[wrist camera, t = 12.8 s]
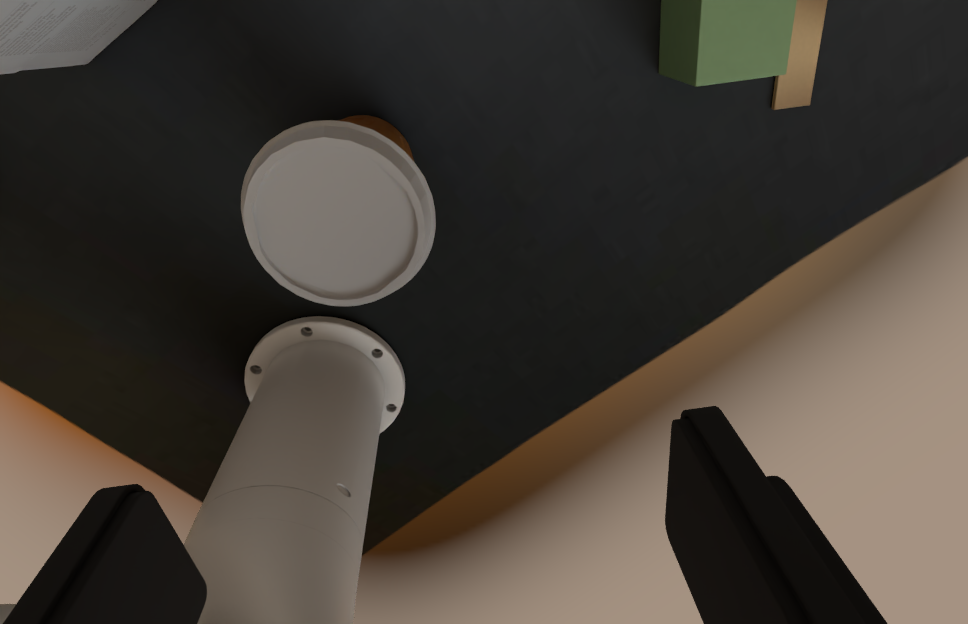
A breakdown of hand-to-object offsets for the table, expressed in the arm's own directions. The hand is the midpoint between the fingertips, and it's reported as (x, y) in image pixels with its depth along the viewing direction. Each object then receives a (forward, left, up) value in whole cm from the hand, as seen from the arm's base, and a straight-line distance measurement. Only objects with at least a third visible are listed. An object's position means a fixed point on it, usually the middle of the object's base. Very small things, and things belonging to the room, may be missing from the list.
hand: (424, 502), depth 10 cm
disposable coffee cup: (-1, +5, -31) cm, 31 cm away
